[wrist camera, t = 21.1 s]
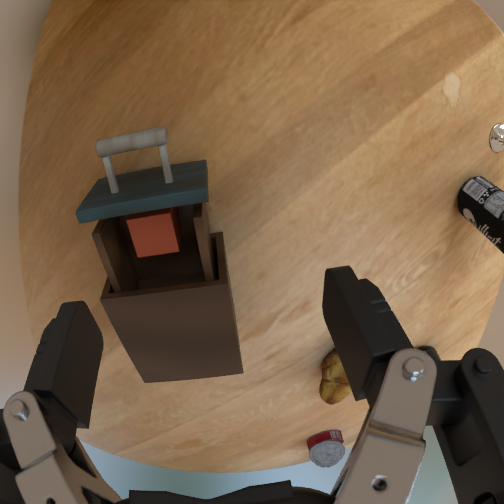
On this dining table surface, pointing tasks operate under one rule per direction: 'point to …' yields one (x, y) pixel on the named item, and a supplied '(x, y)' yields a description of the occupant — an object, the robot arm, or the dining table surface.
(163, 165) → the drawer
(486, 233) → the beverage can
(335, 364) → the bread roll
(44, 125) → the dining table surface
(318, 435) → the canned food
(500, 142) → the wineglass
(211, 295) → the cabinet
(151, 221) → the block
